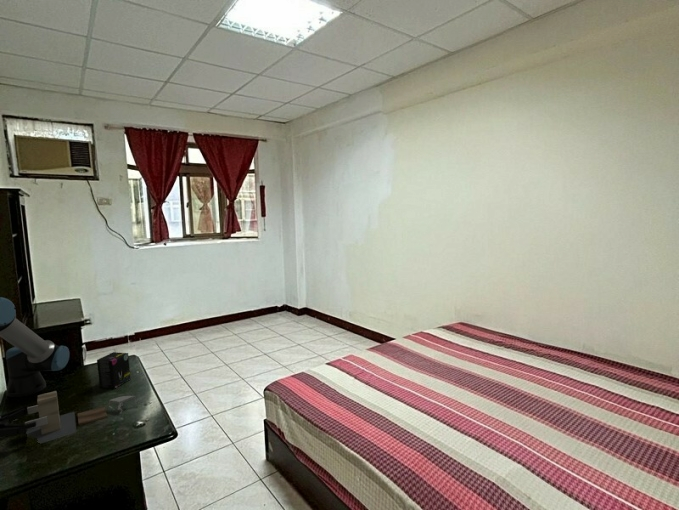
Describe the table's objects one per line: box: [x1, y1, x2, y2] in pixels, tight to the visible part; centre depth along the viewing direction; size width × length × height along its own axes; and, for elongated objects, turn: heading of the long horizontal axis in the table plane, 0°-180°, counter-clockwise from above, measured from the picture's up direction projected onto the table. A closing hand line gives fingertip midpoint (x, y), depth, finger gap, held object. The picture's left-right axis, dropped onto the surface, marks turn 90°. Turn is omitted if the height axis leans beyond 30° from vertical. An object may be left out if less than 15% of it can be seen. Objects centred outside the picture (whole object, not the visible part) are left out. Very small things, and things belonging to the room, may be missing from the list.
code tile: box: [25, 411, 77, 445], centre depth 153 cm, size 20×16×1 cm
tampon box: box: [96, 351, 131, 390], centre depth 191 cm, size 11×9×15 cm
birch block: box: [36, 390, 61, 435], centre depth 152 cm, size 6×6×14 cm
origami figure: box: [108, 395, 141, 415], centre depth 167 cm, size 12×8×5 cm
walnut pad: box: [77, 405, 108, 427], centre depth 161 cm, size 10×10×1 cm
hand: (47, 412), depth 151 cm, fingers open, 13 cm apart
